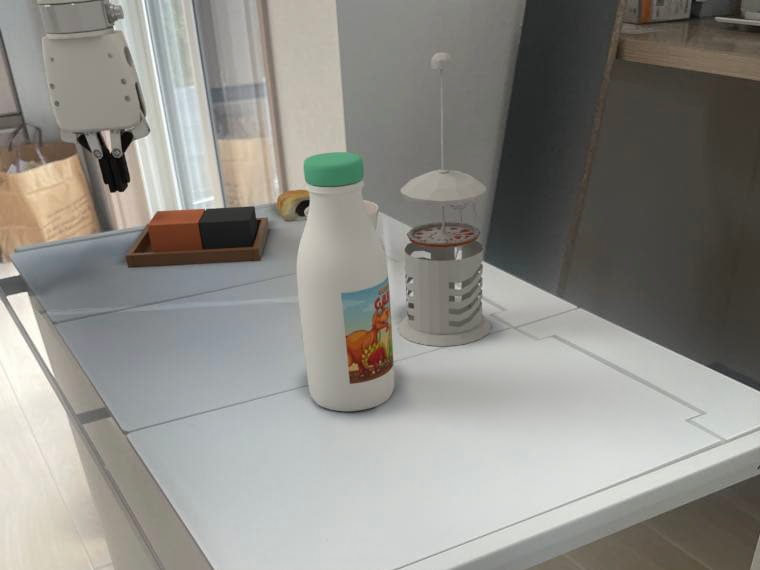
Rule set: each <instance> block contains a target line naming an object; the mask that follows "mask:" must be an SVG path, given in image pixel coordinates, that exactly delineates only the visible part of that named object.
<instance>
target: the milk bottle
mask: <svg viewBox="0 0 760 570" xmlns="http://www.w3.org/2000/svg"><path fill="white" fill-rule="evenodd" d="M364 171H365V170H364V160H363V158H362V156H361V155H359V154H357V153H352V152H343V151H334V152H332V151H331V152H323V153H317V154H314V155H310V156H308V157H306V158H305V159H304V160H303V176H304V180H305V190H307V191H309V195H310V205H309V212H308V218H307V220H306V221H305V222H306V223H305V226H304V229H303V231H302V235H301V238H300V241H299V246H298V251H297V256H296V284H297V285H296V286H297V298H298V303H299V304H298V305H299V306H298V307H299V313H300V314H299V315H300V324H301V332H302V333H301V334H302V342H303V350H304V358H305V366H306V375H307V383H308V389H309V390H308V392H309V395H310V397H311V398H312V400H313V402H314V403H316V404H317V405H318V406H320V407H322V408H324V409H328V410H331V411H336V412H358V411H364V410H368V409H372V408H375V407H378V406H380V405H382V404H384V403H385V402H387V401H388V400H389V399H390V398H391V396H392V394H393V392H394V390H395V370H394V368H395V367H394V349H393V347H394V346H393V328H392V312H391V310H392V309H391V292H390V282H389V281H390V280H389V269H388V263H387V256H386V253H385V250H384V247H383V244H382V241H381V239H380V237H379V235H378V233H377V230H376V231H375V229H374V227H373V225H372V223H371V221H370V218H369V216H368V214H367V211H366V208H365V205H364V202H363V200H364V197H363V188H364V187H365V182H364V176H365V174H364V173H365V172H364Z"/></svg>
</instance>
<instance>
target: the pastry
mask: <svg viewBox="0 0 760 570" xmlns="http://www.w3.org/2000/svg"><path fill="white" fill-rule="evenodd" d="M309 205H310V195H309V191H307V190H306V189H295V190H294V189H293V190H288V191H285V192H284V193H283V192H282V194H280V195H278V196H277V198H276V211H277V212H278V214H279V215H280V217H281V218H282V219H283V220H284V221H285V222H294V221H295V222H296V221H302V220H303V221H304V220H306V217H305V213H304V211H305V209H306V208H307V207H309Z"/></svg>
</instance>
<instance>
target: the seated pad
mask: <svg viewBox="0 0 760 570" xmlns="http://www.w3.org/2000/svg"><path fill="white" fill-rule="evenodd" d="M256 218H257V215H256V207H255V206H254V205H251V206H249V205H248V206H233V207H213V208H205V213H204V215H203V216H202V218H201V220H200V222H199V225H200V230H201V236H202V242H203V247H204V250H205V249H224V248H243V247H253V245H254V242H255V239H256V236H257V232H258V228H257V220H256Z"/></svg>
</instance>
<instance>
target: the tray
mask: <svg viewBox="0 0 760 570" xmlns="http://www.w3.org/2000/svg"><path fill="white" fill-rule="evenodd" d="M256 220H257V228H258V232H257V236H256V239H255V242H254V245H253V247H243V248H224V249H205V250H187V251H168V252H153V249H152V245H151V240H150V235H149V231H148V226H147V225H148V224H149V223H146V225H145V226H144V228H143V229H142V230H141V232H140V233H139V234H138V236H137V238H136V239H135V240H134V242H133V244H132V245H131V246H130V248H129V249H128V251H127V252H126V254H125V256H124V257H125V260H126V265H127V268H128V269H132V268H151V267H154V268H155V267H170V266H171V267H173V266H187V265H189V266H191V265H206V264H207V265H208V264H209V265H210V264H227V263H244V262H260V261H261V260H262V256H263V252H264V249H265V245H266V241H267V240H268V239H267V238H268V235H269V231H270V225H269V217H256Z"/></svg>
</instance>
